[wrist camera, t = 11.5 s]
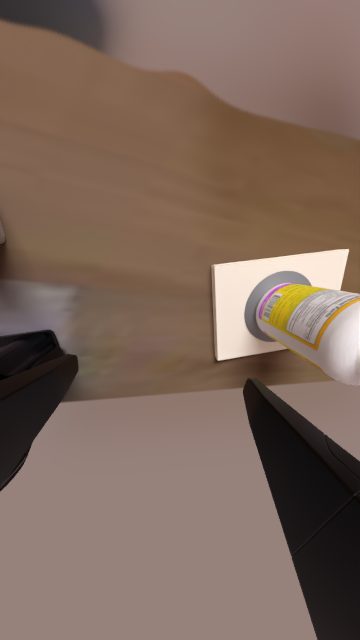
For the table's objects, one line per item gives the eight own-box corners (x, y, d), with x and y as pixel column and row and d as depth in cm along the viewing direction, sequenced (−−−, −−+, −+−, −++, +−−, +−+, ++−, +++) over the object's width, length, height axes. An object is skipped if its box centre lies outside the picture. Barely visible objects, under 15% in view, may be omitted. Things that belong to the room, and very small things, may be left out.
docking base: (214, 355, 24) (218, 361, 22) (211, 265, 19) (214, 265, 18) (320, 337, 25) (329, 342, 24) (338, 249, 21) (350, 248, 20)
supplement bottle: (306, 322, 22) (486, 397, 10) (258, 341, 22) (383, 440, 10) (301, 272, 20) (530, 293, 8) (248, 294, 20) (395, 349, 8)
